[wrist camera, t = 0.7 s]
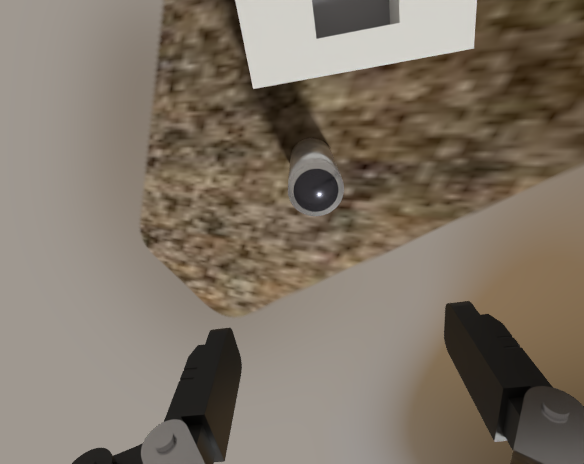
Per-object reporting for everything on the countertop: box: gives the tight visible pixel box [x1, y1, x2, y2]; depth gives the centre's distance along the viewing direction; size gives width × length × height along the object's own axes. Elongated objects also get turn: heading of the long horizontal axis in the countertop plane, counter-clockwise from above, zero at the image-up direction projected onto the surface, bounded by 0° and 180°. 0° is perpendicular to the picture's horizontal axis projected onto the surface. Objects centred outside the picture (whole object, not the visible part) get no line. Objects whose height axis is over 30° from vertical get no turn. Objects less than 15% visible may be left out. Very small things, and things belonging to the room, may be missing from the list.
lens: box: [288, 138, 344, 216], centre depth 31 cm, size 4×4×10 cm
